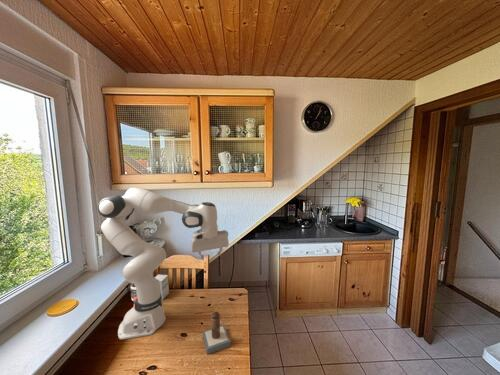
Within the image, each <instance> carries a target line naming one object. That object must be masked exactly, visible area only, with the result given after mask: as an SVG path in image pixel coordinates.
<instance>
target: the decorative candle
mask: <svg viewBox="0 0 500 375" xmlns="http://www.w3.org/2000/svg"><path fill="white" fill-rule="evenodd" d="M131 260H132V259H130V261H131ZM130 261H129V262H130ZM134 297H137V290H136V287H135V285H134V284H133V283H130V298H131V299H130V300H131V301H133V299H134Z"/></svg>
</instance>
